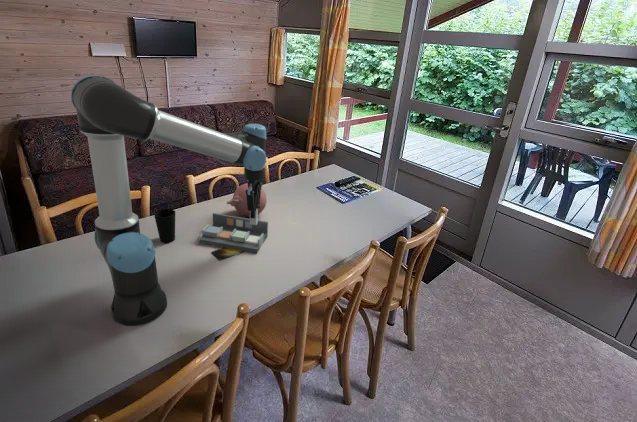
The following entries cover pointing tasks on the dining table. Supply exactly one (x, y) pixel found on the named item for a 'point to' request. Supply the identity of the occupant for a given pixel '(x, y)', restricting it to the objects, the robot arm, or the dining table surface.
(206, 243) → the keypad
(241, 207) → the balloon
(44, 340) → the dining table surface
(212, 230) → the key slate
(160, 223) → the cup
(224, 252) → the smartphone
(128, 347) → the dining table surface
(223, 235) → the key terracotta
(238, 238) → the key sage
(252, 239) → the key cream
